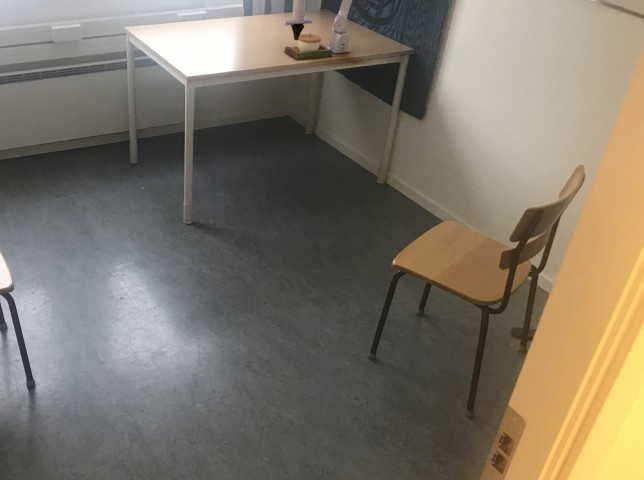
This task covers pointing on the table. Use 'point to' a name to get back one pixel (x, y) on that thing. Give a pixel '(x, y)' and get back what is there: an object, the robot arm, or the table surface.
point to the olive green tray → (309, 53)
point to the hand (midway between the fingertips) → (296, 39)
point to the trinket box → (308, 42)
